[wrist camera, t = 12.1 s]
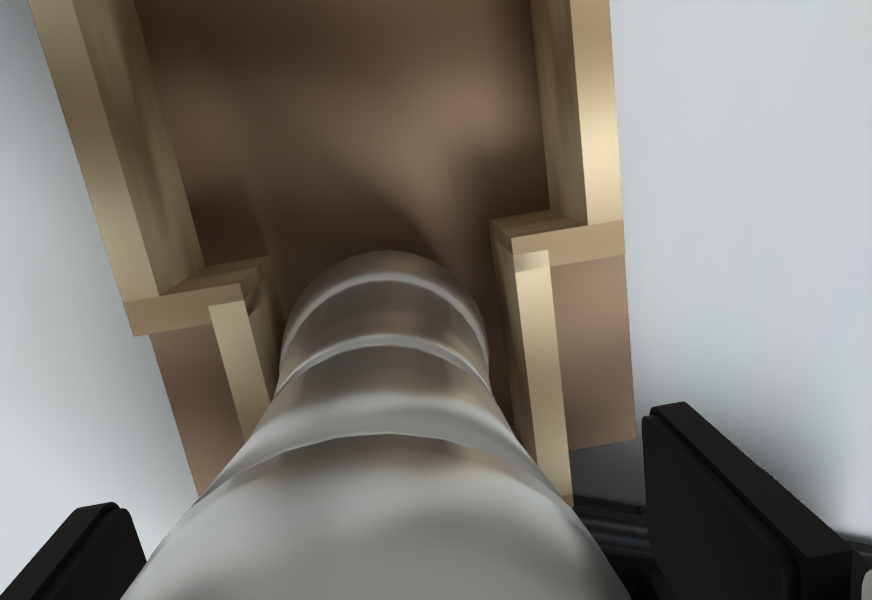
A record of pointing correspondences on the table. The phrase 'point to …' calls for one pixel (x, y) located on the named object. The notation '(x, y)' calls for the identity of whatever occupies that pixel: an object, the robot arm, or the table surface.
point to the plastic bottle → (381, 466)
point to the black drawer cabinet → (635, 546)
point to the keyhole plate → (355, 189)
